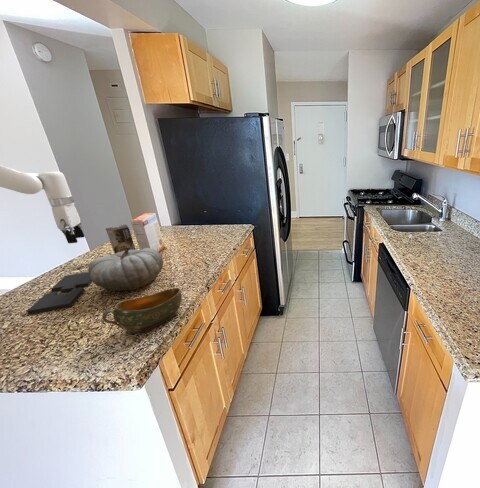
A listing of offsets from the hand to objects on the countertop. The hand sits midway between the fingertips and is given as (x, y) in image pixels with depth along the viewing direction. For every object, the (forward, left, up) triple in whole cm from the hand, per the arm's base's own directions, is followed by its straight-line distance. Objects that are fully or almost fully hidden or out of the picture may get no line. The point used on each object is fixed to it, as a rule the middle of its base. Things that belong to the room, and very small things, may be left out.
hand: (76, 239), depth 118 cm
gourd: (+23, -23, -16) cm, 36 cm away
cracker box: (+25, +12, -16) cm, 32 cm away
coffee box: (+12, +13, -16) cm, 24 cm away
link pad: (0, -13, -16) cm, 21 cm away
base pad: (0, -28, -16) cm, 32 cm away
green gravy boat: (+36, -55, -16) cm, 68 cm away
